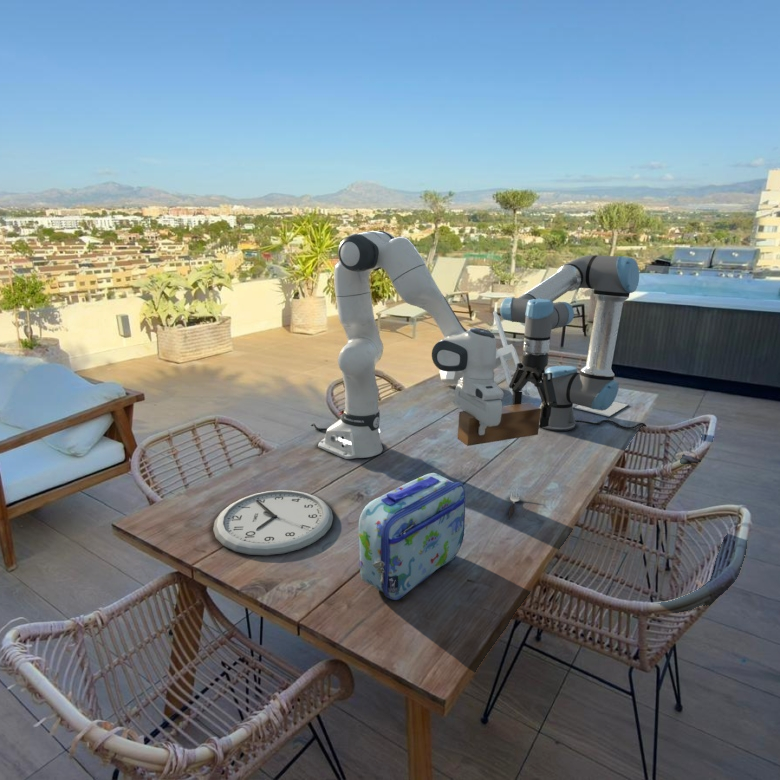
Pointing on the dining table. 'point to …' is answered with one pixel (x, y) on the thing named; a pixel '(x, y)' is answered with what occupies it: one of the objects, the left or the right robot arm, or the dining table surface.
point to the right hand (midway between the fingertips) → (529, 418)
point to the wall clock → (273, 522)
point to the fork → (514, 499)
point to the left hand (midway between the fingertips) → (474, 429)
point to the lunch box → (410, 533)
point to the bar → (501, 425)
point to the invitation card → (608, 412)
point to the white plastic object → (501, 357)
